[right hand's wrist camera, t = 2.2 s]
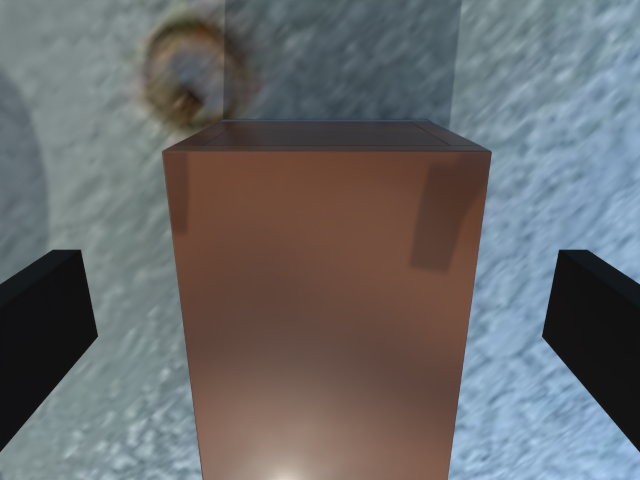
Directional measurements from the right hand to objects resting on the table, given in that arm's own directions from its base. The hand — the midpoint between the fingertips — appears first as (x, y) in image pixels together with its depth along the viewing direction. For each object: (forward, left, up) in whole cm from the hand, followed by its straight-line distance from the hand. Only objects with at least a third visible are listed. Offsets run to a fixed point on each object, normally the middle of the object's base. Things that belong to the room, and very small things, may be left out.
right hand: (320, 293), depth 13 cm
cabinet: (+3, +4, -13) cm, 14 cm away
